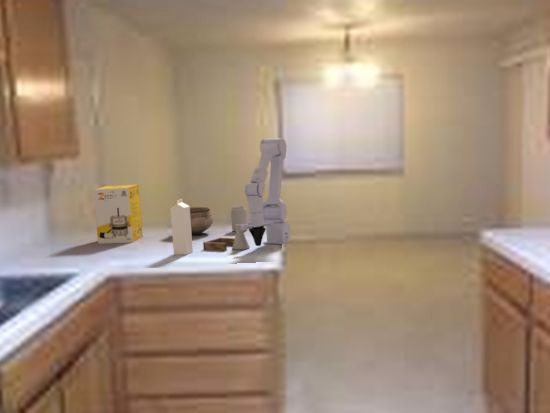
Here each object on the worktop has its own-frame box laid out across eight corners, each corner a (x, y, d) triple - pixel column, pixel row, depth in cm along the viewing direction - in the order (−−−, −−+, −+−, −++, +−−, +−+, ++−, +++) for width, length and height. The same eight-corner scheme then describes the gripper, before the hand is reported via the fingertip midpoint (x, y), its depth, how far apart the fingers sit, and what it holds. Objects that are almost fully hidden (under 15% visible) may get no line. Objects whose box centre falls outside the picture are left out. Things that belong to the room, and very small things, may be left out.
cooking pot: (181, 230, 350) (180, 206, 349) (219, 229, 347) (217, 204, 346) (166, 239, 325) (164, 213, 324) (206, 238, 323) (205, 211, 321)
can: (240, 232, 334) (239, 207, 333) (228, 231, 339) (227, 206, 337) (250, 230, 340) (249, 205, 339) (238, 229, 345) (237, 204, 343)
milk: (173, 254, 285) (169, 200, 282) (179, 252, 290) (175, 198, 288) (187, 254, 283) (183, 199, 280) (193, 251, 289) (189, 198, 286)
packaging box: (98, 243, 324) (93, 189, 321) (109, 237, 340) (105, 186, 337) (132, 242, 322) (128, 187, 319) (142, 236, 338) (138, 184, 335)
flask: (252, 247, 292) (251, 223, 291) (244, 250, 285) (243, 226, 284) (237, 246, 295) (235, 223, 294) (228, 250, 288) (227, 225, 287)
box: (241, 245, 297) (241, 238, 297) (225, 250, 287) (224, 243, 286) (220, 244, 303) (220, 237, 302) (203, 249, 293) (203, 242, 292)
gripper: (265, 209, 291) (267, 241, 293) (235, 213, 283) (237, 246, 285) (275, 210, 285) (277, 243, 287) (244, 214, 277) (247, 248, 279)
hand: (258, 245), depth 285 cm, fingers closed
